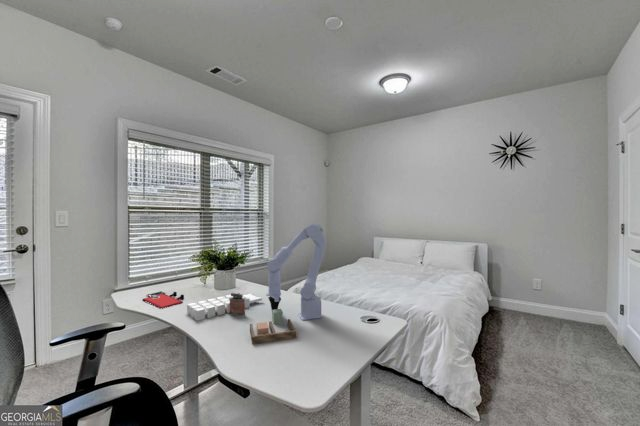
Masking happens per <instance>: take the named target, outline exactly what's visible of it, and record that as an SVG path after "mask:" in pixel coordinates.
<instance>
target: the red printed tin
mask: <svg viewBox="0 0 640 426" xmlns="http://www.w3.org/2000/svg"><path fill="white" fill-rule="evenodd" d="M230 295H231V296H233V297H231V298H229V300H230V312H228V314H229V315H230V316H231V315H233V316H244V315H246V312H245V311H246V308H245V298H242V297H243V294H242V293H240V292H237V294H236V293H235V292H231V293H230Z"/></svg>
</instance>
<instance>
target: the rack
mask: <svg viewBox="0 0 640 426" xmlns="http://www.w3.org/2000/svg"><path fill="white" fill-rule="evenodd" d="M286 323H287V327H288V329H289V330H288V331H287V330H283V331H279V332H277V331H276V330H275V326H274V323H273V321H272V320H271V321H268V328H269V333H266V334H264V335H263V334H259V335H257V334H256V335H255V330H254V326H253V323H249V334H250V339H251V344H252V345H254V344H262V343H268V342H276V341H283V340H290V339H291V340H292V339H296V338H297V336H298V335H297V330H296V328H295V325H294V324H293V322H292V321H291V319H290V318H288V319H287V321H286Z"/></svg>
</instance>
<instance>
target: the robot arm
mask: <svg viewBox="0 0 640 426" xmlns="http://www.w3.org/2000/svg"><path fill="white" fill-rule="evenodd" d="M308 238H310V239H311V240H312V241H313V243H314V244H315V247H314V251H313V254H312V258H311V261H310V265H309V267H308V272H307V276H306V279H305V282H304V284H303V285H302V287H301V289H300V312H299V313H298V316H299V317H300V319H301V320H303V321H305V320H307V321H308V320H313V319H321V318H323V316H322V299H321V297H320V296H316V293H315V292H316V290H317V286H316V282H317V279H318V275H319V271H320V268H321V264H322V261H323V257H324V255H325V254H324V253H325V250H326V246H327V240H326V236H325V233H324V230H323V228H322V226H320V224H319V223H316V222H313V223H309V224H308V225H307V226H306V227H305V228H304V229H302V230H301V231H300V232H299V233H298V234H297V235H296V236H295V237H294V238H293V239H292V241H291V242H290V243H289V244H288V245H287V246H282V247H280V248H279V249H278V250H279V251H278V252H277V253H276V254H275V255H272V258H273V259H270V260H269V261H268V262H267V264H266V267H267V270H268V292H266V293H265V295H266V297H267V296H268V300H269V303H270V308H271V311H272V310H274V309H279V304H280V302H281V301H282V298H281V295H282V293H281V290H282V289H281V287H282V286H281V285H282V284H281V276H282V275H281V268H282V267H283V265H284V264H285V263H287V262H288V260H289V259H290V258H291V257H292V256H293V251H294V250H295V249H296V247H298V246H299V245H300V243H302V242H303V241H304V240H307V239H308Z"/></svg>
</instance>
